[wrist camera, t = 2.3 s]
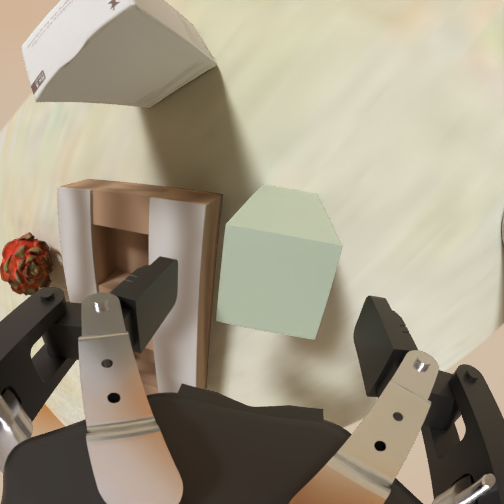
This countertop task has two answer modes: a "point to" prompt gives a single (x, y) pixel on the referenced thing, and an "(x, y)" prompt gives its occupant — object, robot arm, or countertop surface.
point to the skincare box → (113, 52)
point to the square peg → (278, 263)
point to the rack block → (146, 263)
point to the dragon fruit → (26, 264)
